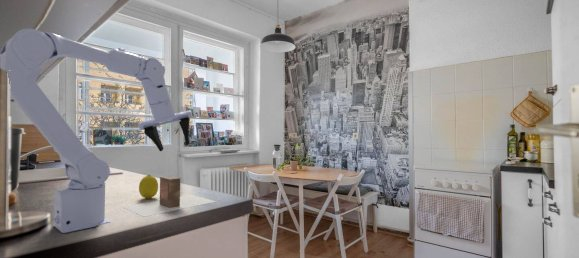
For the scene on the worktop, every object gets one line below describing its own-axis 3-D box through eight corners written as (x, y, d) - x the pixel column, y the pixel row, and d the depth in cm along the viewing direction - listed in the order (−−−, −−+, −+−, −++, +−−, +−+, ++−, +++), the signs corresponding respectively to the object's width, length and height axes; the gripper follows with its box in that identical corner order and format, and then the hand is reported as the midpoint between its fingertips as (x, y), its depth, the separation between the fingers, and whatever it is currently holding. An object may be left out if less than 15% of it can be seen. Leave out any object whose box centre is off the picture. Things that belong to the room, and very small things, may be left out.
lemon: (149, 202, 91) (149, 176, 91) (134, 201, 93) (135, 175, 93) (161, 198, 97) (162, 174, 97) (147, 197, 98) (148, 173, 98)
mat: (143, 218, 75) (143, 216, 75) (121, 208, 84) (121, 206, 84) (216, 203, 92) (216, 201, 92) (191, 196, 101) (191, 194, 101)
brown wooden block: (169, 208, 84) (169, 179, 84) (158, 204, 87) (159, 177, 88) (179, 206, 86) (180, 178, 86) (169, 202, 90) (169, 175, 90)
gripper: (187, 94, 89) (200, 136, 93) (136, 105, 87) (152, 149, 90) (184, 97, 82) (199, 142, 86) (130, 110, 80) (147, 156, 84)
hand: (175, 146), depth 88 cm, fingers open, 7 cm apart
